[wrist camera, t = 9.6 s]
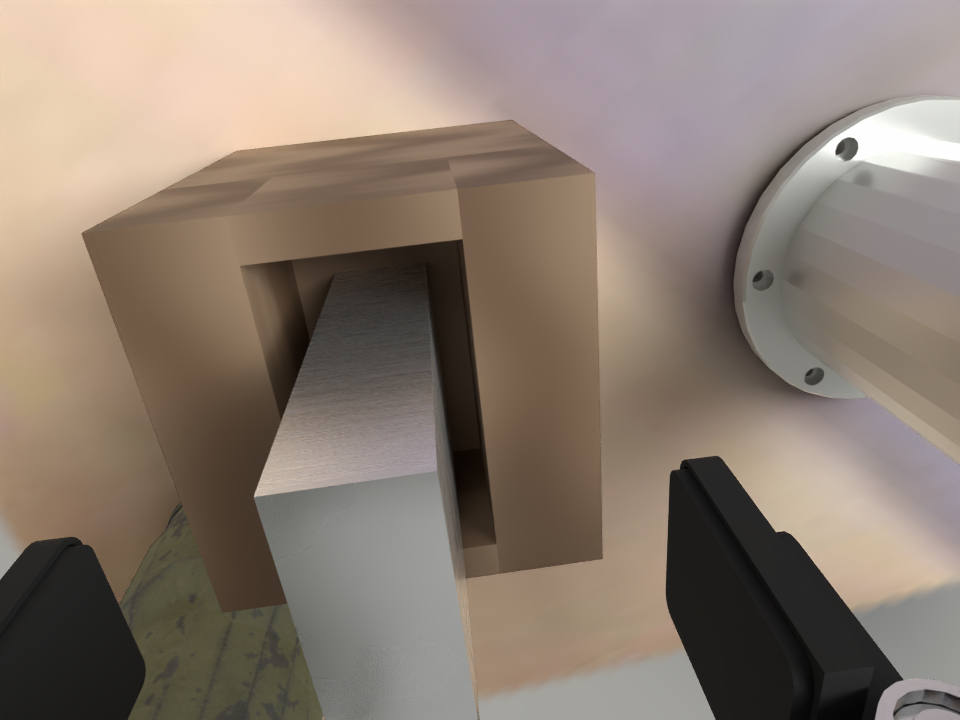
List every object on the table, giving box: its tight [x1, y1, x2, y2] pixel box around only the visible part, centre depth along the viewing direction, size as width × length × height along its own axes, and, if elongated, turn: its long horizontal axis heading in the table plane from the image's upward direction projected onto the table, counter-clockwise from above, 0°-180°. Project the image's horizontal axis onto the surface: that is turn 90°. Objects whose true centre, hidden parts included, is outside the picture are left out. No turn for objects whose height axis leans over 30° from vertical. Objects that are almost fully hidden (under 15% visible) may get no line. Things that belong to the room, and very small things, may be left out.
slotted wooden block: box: [81, 120, 603, 613], centre depth 20 cm, size 10×10×12 cm
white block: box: [254, 262, 479, 720], centre depth 15 cm, size 2×6×10 cm, turn 6°
